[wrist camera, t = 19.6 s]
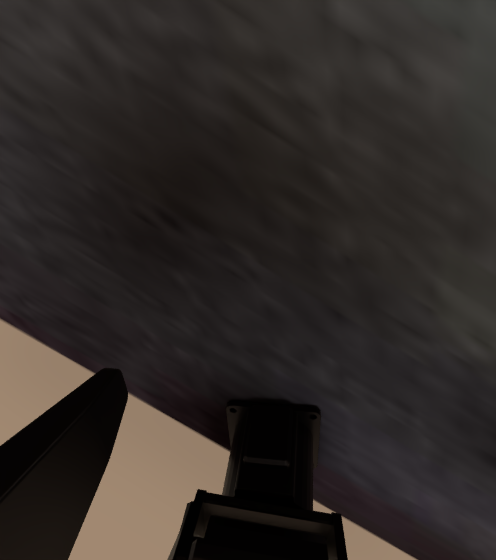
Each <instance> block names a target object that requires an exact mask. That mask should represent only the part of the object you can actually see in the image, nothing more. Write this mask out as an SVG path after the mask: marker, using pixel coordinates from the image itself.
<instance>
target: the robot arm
mask: <svg viewBox="0 0 496 560" xmlns="http://www.w3.org/2000/svg"><path fill="white" fill-rule="evenodd" d="M127 399H128V391H127V387H126V384H125V381H124V378H123V375H122V372H121V371H120V370H119V369H113V368H104V369H102V370H100V371H99V372H97V373H96V374H95V375H94V376H92V377H91V378H89V379H88V380H87V381H86V382H84V383H83V384H82V385H80V386H79V387H78V388H76V389H75V390H74V391H72V392H71V393H70V394H68V395H67V396H66V397H64V398H63V399H62V400H60V401H59V402H58V403H57V404H55V405H54V406H53V407H51V408H50V409H48V410H47V411H46V412H44V413H43V414H42V415H41V416H39V417H38V418H37V419H35V420H34V421H33V422H31V423H30V424H29V425H28V426H26V427H25V428H23V429H22V430H21V431H19V432H18V433H17V434H15V435H14V436H13V437H11V438H10V439H9V440H7V441H6V442H5V443H4V444H2V445H1V446H0V560H68V558H69V556H70V553H71V551H72V548H73V546H74V544H75V541H76V539H77V536H78V534H79V532H80V529H81V527H82V524H83V522H84V519H85V517H86V515H87V512H88V510H89V507H90V505H91V503H92V500H93V498H94V496H95V493H96V491H97V488H98V486H99V483H100V481H101V479H102V476H103V474H104V472H105V469H106V466H107V464H108V462H109V459H110V456H111V453H112V450H113V447H114V443H115V440H116V436H117V433H118V430H119V427H120V423H121V420H122V416H123V413H124V410H125V406H126V403H127ZM226 414H227V422H228V430H229V438H230V446H231V452H230V457H229V462H228V468H227V473H226V478H225V483H224V488H223V493H222V495H219V494H213V493H207V491H206V490H200V489H198V490H197V493H196V496H195V500H194V501H191V502H190V503H188V504H187V507H186V510H185V514H184V518H183V522H182V525H181V528H180V532H179V534H178V537H177V539H176V541H175V544H174V546H173V548H172V550H171V553H170V555H169V558H168V560H348V559H347V552H346V545H345V538H344V531H343V524H342V517H341V514H339V513H333V512H332V513H331V514H329V513H323V512H317V511H313V468H316V467H317V462H318V448H319V434H320V420H321V412H320V410H319V409H317V408H314V407H302V406H290V405H277V404H264V403H251V402H238V401H230V402H228V403H227V408H226Z"/></svg>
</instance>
